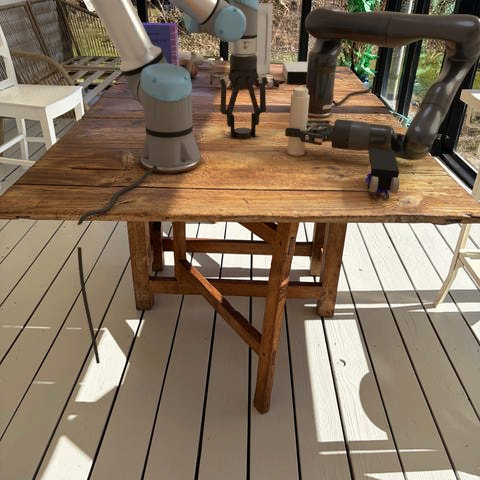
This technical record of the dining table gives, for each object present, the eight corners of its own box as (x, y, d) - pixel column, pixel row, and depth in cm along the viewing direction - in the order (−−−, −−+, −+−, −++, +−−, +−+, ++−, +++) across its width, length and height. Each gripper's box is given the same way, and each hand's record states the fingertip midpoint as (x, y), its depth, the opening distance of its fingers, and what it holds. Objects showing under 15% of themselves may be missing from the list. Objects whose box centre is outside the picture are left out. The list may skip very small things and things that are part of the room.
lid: (239, 132, 145) (239, 126, 144) (254, 135, 143) (255, 129, 142) (230, 137, 141) (230, 131, 140) (246, 140, 139) (246, 134, 138)
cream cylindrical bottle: (307, 153, 130) (313, 90, 121) (293, 156, 128) (298, 92, 119) (298, 148, 134) (303, 86, 125) (284, 151, 132) (288, 87, 123)
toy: (170, 75, 210) (169, 59, 206) (146, 65, 227) (145, 49, 223) (217, 69, 221) (217, 53, 218) (191, 60, 239) (191, 45, 235)
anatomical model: (190, 85, 210) (181, 86, 196) (175, 71, 209) (165, 71, 195) (208, 63, 206) (200, 61, 191) (193, 48, 205) (184, 46, 191)
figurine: (210, 87, 179) (288, 95, 182) (212, 65, 176) (291, 73, 180) (208, 84, 201) (278, 91, 205) (210, 64, 198) (280, 71, 202)
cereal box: (180, 88, 189) (177, 22, 177) (178, 91, 185) (174, 24, 173) (137, 87, 190) (130, 21, 178) (134, 90, 186) (127, 23, 173)
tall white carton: (273, 76, 210) (276, 6, 196) (239, 77, 209) (240, 6, 194) (266, 67, 226) (268, 2, 212) (235, 67, 225) (235, 1, 210)
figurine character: (397, 209, 105) (389, 175, 117) (404, 179, 101) (395, 147, 112) (366, 207, 106) (361, 173, 118) (371, 177, 101) (366, 145, 113)
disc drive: (287, 84, 198) (287, 71, 196) (281, 72, 218) (282, 61, 215) (329, 84, 199) (330, 72, 196) (320, 72, 218) (321, 61, 216)
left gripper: (211, 57, 126) (213, 142, 137) (279, 55, 128) (276, 138, 140) (207, 52, 132) (210, 134, 144) (273, 50, 135) (270, 130, 147)
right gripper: (356, 113, 128) (293, 107, 132) (351, 129, 116) (282, 122, 120) (352, 140, 132) (291, 134, 136) (347, 158, 120) (281, 151, 124)
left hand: (243, 136), depth 142 cm, fingers open, 6 cm apart
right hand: (287, 128), depth 128 cm, fingers closed on cream cylindrical bottle, 4 cm apart
